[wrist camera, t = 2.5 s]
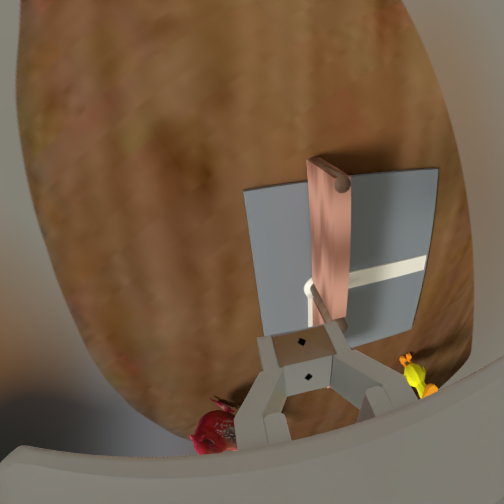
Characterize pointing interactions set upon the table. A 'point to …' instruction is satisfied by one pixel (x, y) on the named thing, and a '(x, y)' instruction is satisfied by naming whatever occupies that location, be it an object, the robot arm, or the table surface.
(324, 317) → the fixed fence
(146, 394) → the table surface
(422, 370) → the toy figure
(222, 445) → the decorative bird figurine
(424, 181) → the card
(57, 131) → the table surface
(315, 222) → the gate panel
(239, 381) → the table surface
